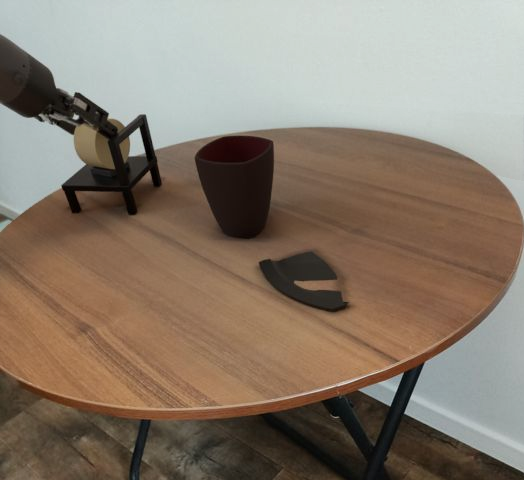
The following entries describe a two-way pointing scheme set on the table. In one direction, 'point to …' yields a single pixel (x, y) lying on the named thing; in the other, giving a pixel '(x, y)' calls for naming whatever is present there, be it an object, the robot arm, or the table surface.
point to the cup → (238, 182)
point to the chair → (118, 170)
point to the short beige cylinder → (99, 149)
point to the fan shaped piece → (303, 270)
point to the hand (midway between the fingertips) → (95, 132)
